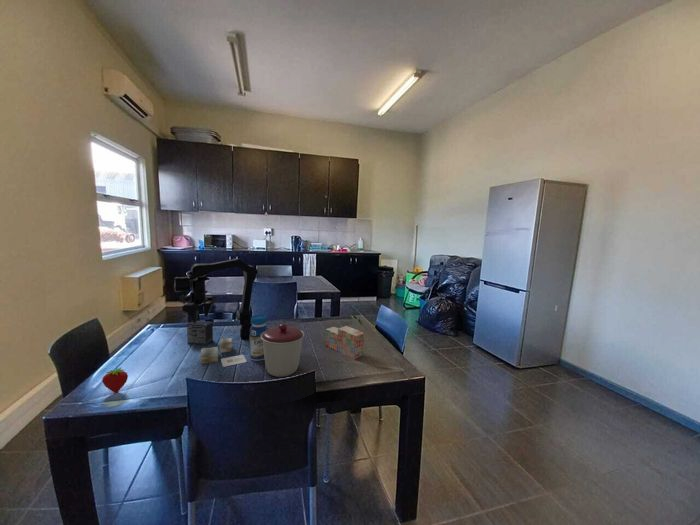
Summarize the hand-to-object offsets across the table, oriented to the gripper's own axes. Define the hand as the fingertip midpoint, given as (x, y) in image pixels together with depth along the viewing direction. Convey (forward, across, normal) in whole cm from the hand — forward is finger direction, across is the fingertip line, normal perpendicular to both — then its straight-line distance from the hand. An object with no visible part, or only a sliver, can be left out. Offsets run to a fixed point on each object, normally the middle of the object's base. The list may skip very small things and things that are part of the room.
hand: (200, 319), depth 145 cm
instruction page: (+14, +13, +24) cm, 30 cm away
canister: (+14, +17, +48) cm, 53 cm away
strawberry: (+13, +43, -5) cm, 45 cm away
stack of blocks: (+15, -8, +72) cm, 74 cm away
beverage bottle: (+14, +7, +33) cm, 37 cm away
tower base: (+13, +13, +12) cm, 23 cm away
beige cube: (+14, +3, +14) cm, 20 cm away
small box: (+14, -3, -3) cm, 14 cm away
